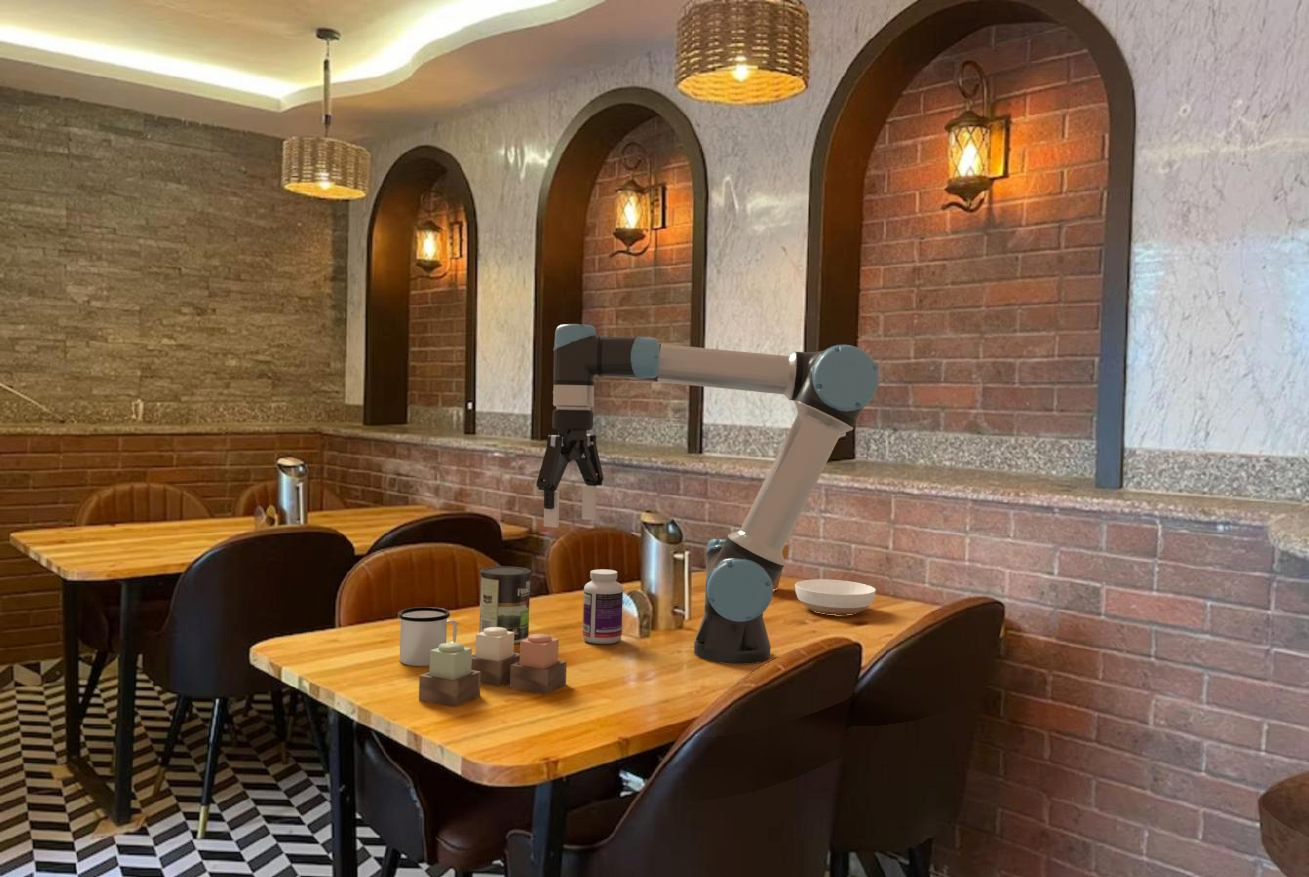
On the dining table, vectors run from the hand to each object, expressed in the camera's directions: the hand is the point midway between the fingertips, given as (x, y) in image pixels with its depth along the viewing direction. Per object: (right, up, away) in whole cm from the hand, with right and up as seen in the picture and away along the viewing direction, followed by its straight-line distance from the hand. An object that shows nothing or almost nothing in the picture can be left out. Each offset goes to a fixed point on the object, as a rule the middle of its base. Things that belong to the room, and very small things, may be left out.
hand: (570, 523), depth 180 cm
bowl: (+60, -27, +58) cm, 88 cm away
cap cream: (-13, -24, -9) cm, 29 cm away
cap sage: (-18, -25, -21) cm, 37 cm away
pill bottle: (+5, -26, +20) cm, 33 cm away
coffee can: (-15, -26, +19) cm, 35 cm away
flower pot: (+44, -25, +82) cm, 97 cm away
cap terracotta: (-4, -25, -13) cm, 28 cm away
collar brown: (-5, -27, -13) cm, 30 cm away
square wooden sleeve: (-13, -26, -9) cm, 31 cm away
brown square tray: (-18, -27, -21) cm, 39 cm away
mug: (-27, -26, +1) cm, 37 cm away
